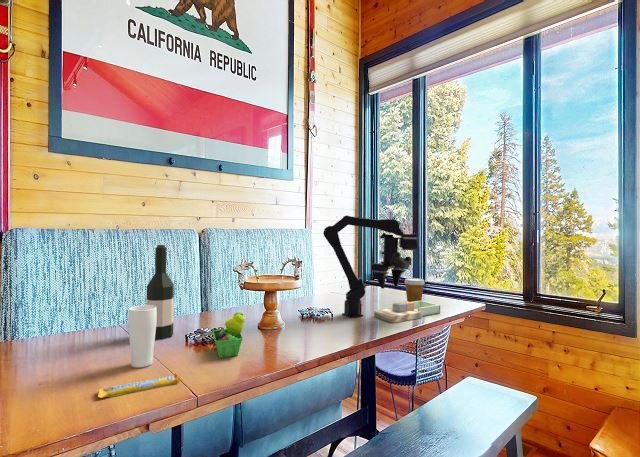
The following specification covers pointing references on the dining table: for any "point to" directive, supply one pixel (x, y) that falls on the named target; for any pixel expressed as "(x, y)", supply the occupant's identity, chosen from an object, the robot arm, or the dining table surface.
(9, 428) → the dining table surface
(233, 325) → the fruit basket
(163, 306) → the wine bottle
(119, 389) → the candy bar
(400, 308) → the slate tile
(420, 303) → the tray
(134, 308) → the drinking glass
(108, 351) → the dining table surface
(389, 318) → the board
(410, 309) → the terracotta tile
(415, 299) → the disposable coffee cup
